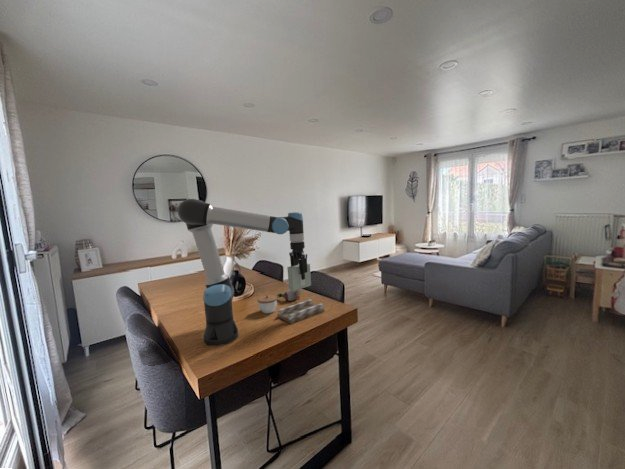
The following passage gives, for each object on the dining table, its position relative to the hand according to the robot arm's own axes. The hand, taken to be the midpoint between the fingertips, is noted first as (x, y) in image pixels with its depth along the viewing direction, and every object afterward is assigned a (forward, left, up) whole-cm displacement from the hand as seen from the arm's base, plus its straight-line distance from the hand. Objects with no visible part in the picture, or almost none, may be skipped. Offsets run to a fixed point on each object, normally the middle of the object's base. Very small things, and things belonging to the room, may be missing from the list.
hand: (300, 284), depth 139 cm
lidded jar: (-11, +17, -17) cm, 26 cm away
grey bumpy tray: (0, 0, -17) cm, 17 cm away
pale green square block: (0, 0, -2) cm, 2 cm away
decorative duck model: (+10, +24, -17) cm, 31 cm away
